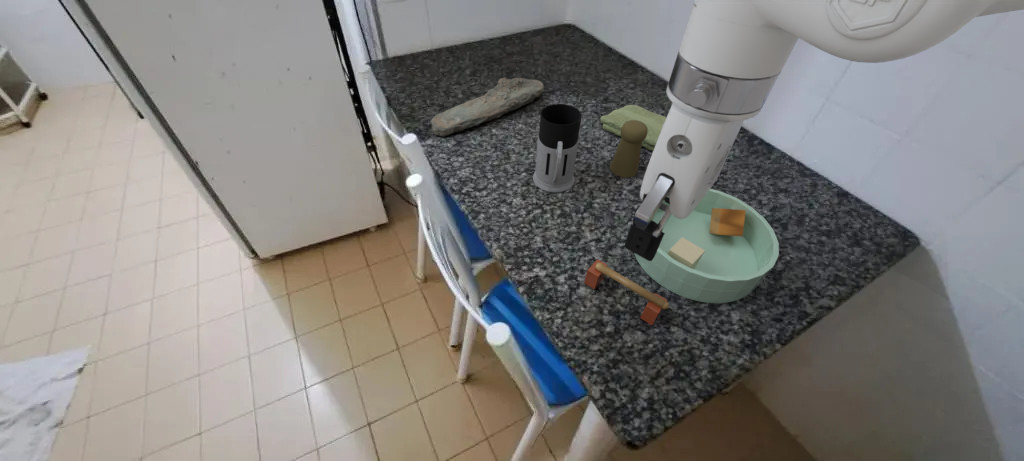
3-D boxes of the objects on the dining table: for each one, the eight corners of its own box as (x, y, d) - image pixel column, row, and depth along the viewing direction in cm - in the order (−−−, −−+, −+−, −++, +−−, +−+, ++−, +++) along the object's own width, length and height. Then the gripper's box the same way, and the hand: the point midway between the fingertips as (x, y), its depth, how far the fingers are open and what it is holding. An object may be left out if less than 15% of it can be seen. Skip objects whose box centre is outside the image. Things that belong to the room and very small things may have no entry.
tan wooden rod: (671, 302, 56) (668, 306, 55) (668, 308, 56) (665, 312, 56) (599, 260, 61) (595, 263, 60) (596, 265, 62) (593, 268, 61)
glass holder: (574, 167, 85) (584, 103, 74) (575, 212, 75) (587, 146, 64) (533, 164, 85) (538, 100, 74) (530, 209, 75) (534, 143, 65)
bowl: (776, 246, 70) (794, 222, 65) (736, 328, 58) (754, 306, 54) (663, 194, 79) (672, 170, 75) (609, 256, 67) (616, 232, 63)
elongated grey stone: (422, 130, 96) (446, 150, 91) (419, 112, 92) (443, 131, 87) (527, 81, 111) (552, 96, 106) (528, 64, 107) (553, 78, 102)
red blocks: (660, 312, 60) (667, 299, 57) (652, 325, 58) (658, 313, 56) (593, 272, 65) (597, 258, 62) (584, 283, 63) (587, 270, 61)
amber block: (732, 234, 70) (735, 209, 70) (742, 236, 66) (745, 210, 66) (709, 232, 71) (711, 208, 70) (717, 234, 67) (720, 208, 66)
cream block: (695, 268, 65) (705, 250, 62) (683, 281, 63) (692, 264, 60) (673, 254, 67) (682, 236, 64) (661, 267, 65) (669, 249, 62)
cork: (608, 174, 83) (618, 129, 75) (611, 158, 87) (622, 113, 79) (636, 179, 82) (651, 134, 74) (639, 163, 86) (652, 118, 78)
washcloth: (626, 109, 102) (629, 97, 100) (687, 136, 94) (692, 124, 91) (595, 127, 96) (597, 115, 94) (658, 158, 87) (662, 146, 85)
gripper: (729, 144, 25) (655, 295, 38) (796, 60, 35) (719, 203, 47) (626, 105, 29) (589, 256, 41) (712, 38, 38) (661, 177, 50)
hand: (658, 228), depth 44 cm, fingers open, 9 cm apart
